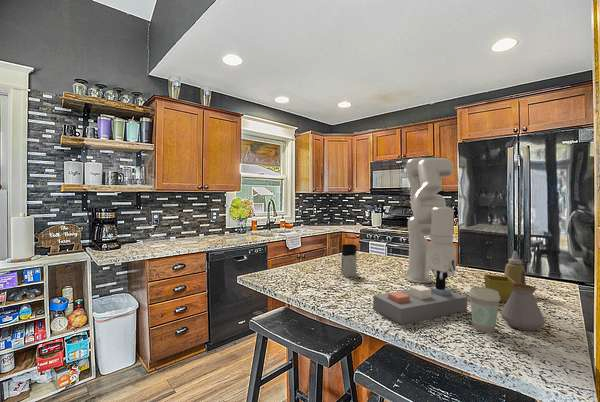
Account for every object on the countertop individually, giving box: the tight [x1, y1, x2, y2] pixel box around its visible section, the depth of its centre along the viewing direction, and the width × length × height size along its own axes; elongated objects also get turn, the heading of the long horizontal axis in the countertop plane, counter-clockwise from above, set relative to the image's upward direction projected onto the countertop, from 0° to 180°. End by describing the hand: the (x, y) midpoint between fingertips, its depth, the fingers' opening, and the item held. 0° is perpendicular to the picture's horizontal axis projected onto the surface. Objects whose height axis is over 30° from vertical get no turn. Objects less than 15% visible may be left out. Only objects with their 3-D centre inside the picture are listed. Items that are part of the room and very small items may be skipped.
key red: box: [388, 291, 410, 303], centre depth 104 cm, size 5×5×5 cm
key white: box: [409, 284, 431, 300], centre depth 108 cm, size 5×5×5 cm
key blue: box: [429, 286, 452, 296], centre depth 112 cm, size 5×5×5 cm
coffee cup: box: [468, 286, 501, 333], centre depth 94 cm, size 8×8×12 cm
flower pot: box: [483, 274, 515, 303], centre depth 120 cm, size 9×9×9 cm
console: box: [372, 285, 468, 325], centre depth 108 cm, size 14×31×5 cm, turn 114°
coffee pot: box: [500, 270, 546, 332], centre depth 100 cm, size 21×12×15 cm, turn 143°
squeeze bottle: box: [503, 250, 527, 285], centre depth 131 cm, size 8×8×18 cm
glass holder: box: [329, 243, 358, 277], centre depth 157 cm, size 9×14×15 cm, turn 89°
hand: (440, 288), depth 112 cm, fingers closed
